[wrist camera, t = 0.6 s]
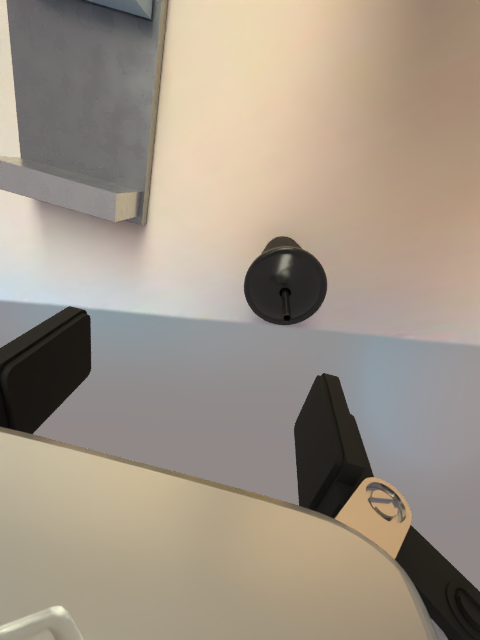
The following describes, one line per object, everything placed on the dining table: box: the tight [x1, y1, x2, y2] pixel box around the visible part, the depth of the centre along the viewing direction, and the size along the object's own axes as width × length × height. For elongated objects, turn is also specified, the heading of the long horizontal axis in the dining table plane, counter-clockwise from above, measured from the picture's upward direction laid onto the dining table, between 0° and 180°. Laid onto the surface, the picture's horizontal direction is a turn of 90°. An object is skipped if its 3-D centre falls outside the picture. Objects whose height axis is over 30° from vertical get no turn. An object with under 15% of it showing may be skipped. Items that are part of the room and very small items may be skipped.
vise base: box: [0, 0, 168, 225], centre depth 29 cm, size 26×16×8 cm, turn 166°
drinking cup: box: [244, 237, 327, 325], centre depth 30 cm, size 8×8×20 cm
